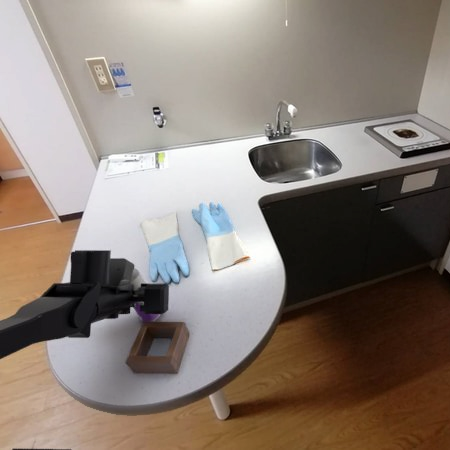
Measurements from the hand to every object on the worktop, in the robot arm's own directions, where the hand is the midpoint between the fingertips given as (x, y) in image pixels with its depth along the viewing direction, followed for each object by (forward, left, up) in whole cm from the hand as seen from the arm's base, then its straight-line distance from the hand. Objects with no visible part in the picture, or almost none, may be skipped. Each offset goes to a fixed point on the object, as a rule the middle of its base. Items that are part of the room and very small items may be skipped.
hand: (143, 292), depth 73 cm
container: (-1, -1, -7) cm, 7 cm away
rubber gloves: (+23, +13, -7) cm, 27 cm away
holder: (-5, -12, -7) cm, 15 cm away
